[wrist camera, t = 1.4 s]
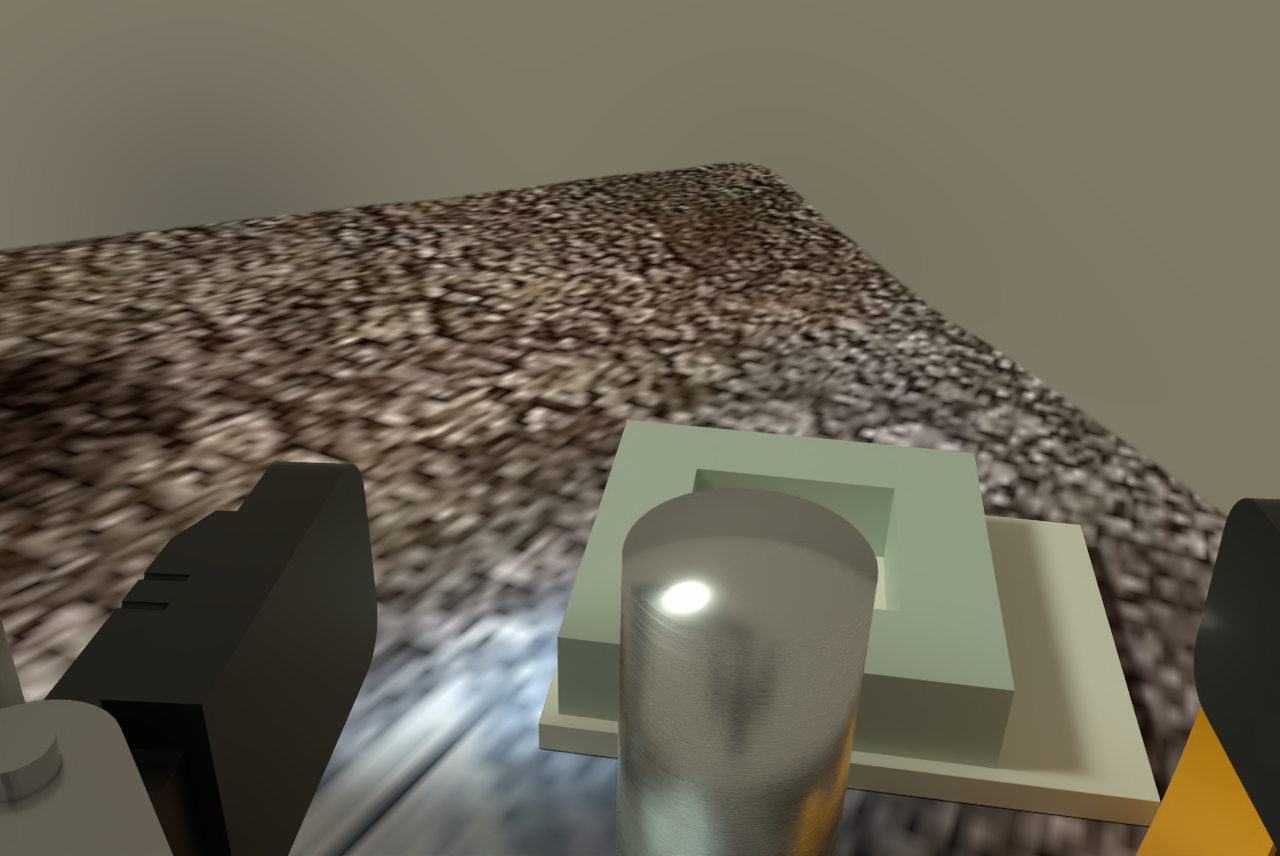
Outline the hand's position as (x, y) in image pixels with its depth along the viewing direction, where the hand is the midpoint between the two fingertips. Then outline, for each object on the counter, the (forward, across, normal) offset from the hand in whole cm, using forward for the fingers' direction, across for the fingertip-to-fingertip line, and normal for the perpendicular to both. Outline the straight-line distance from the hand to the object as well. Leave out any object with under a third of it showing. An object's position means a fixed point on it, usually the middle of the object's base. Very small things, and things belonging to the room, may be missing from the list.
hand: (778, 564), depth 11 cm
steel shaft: (+11, 0, +20) cm, 23 cm away
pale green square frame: (+25, -4, +19) cm, 32 cm away
